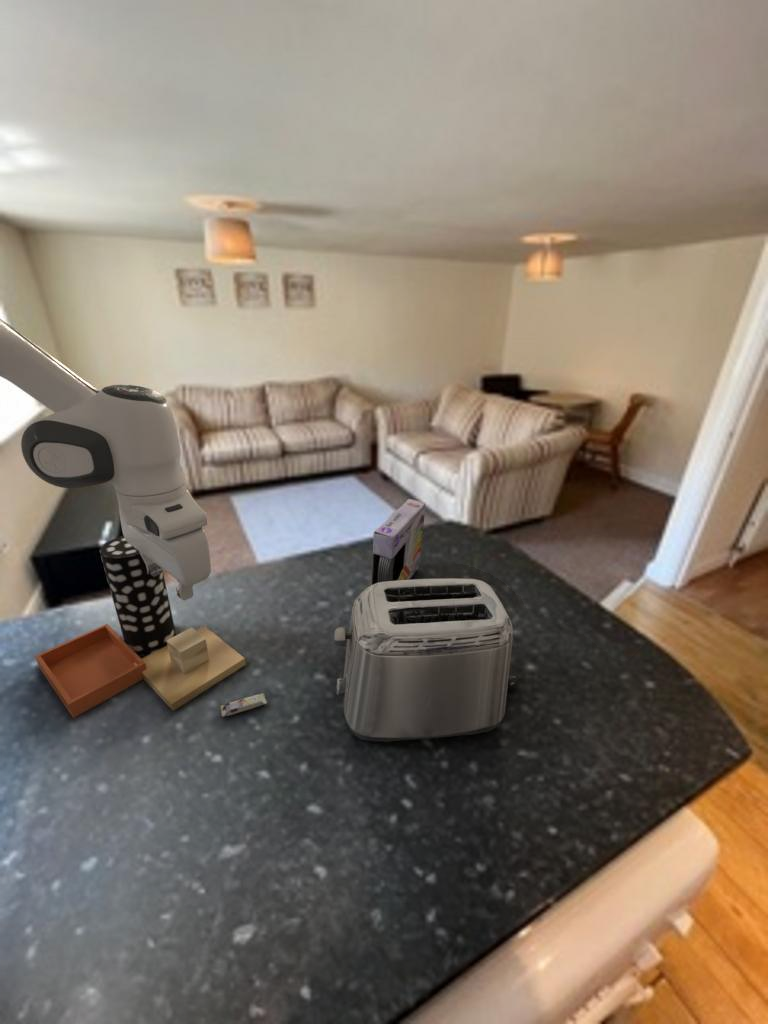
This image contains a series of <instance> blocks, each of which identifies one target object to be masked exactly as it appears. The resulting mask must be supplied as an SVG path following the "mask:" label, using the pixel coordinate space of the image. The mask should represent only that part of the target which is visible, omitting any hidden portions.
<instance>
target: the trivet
mask: <svg viewBox="0 0 768 1024" xmlns="http://www.w3.org/2000/svg"><path fill="white" fill-rule="evenodd" d="M195 630H196V631H197V632H198V633H199V634H200V635H202V636H203V637H204V638H205V639H206V643H207V649H208V655H209V660H208V661H206V662H204V663H202V664H201V665H199V666H197V667H196V668H194V669H192V670H191V671H189V672H187V673H185V674H184V673H183V672H182V671H181V670H180V669H179V668H178V667H177V666H176V665H175V664H174V663H173V662H172V661H171V659H170V654H169V650H168V645H167V646H165V647H163V648H161V649H159V650H157V651H156V652H154V653H152V654H150V655H145V656H144V657H142V658H141V659H142V660H143V661H144V662H145V663H146V667H147V669H146V670H145V671H143V672H142V676H143V679H142V680H144V681H145V683H147V685H148V686H149V687H150V688H151V689H152V690H153V691H154V692H155V693H156V694H157V696H158V697H159V698H160V699H161V700H162V701H164V703H165V704H166V705H167V707H169V708H170V709H171V711H173V712H174V711H176V710H177V709H179V708H181V707H182V706H183V705H185V704H187V703H188V702H190V701H191V700H193V699H194V698H196V697H198V696H199V695H201V694H202V693H204V692H206V691H207V690H208V689H210V688H211V687H213V686H215V685H216V684H218V683H219V682H221V681H223V680H224V679H226V678H228V677H229V676H230V675H232V674H234V673H235V672H237V671H238V670H240V669H242V668H243V667H245V666H246V664H247V663H246V658H245V657H244V656H243V655H242V654H241V653H239V652H238V651H236V649H234V648H233V647H231V646H230V645H229V644H228V643H226V642H225V641H224V640H223V639H221V638H220V637H219V636H218V635H217V634H215V633H214V632H213V631H211V630H210V629H209V628H208V627H206V626H205V625H203V626H201V627H200V628H198V629H195ZM133 664H134V667H135V666H136V665H137V664H136V663H133Z"/></svg>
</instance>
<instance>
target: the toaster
mask: <svg viewBox="0 0 768 1024" xmlns="http://www.w3.org/2000/svg"><path fill="white" fill-rule="evenodd" d="M353 602H354V603H353V605H352V609H351V615H350V622H349V629H348V632H347V629H346V626H339V627H336V629H335V631H334V638H333V641H334V644H335V645H336V646H337V647H345V646H346V651H345V660H344V668H343V669H344V670H343V677H337V679H336V687H335V688H336V689H335V692H336V693H335V694H336V695H337V696H342V697H343V713H344V718H345V721H346V723H347V725H348V728H349V730H350V732H351V733H352V734H353V735H354V736H355V737H356V738H358V739H360V740H362V741H366V742H375V743H377V742H378V743H390V742H391V743H392V742H396V741H409V740H411V741H412V740H413V741H414V740H427V739H441V738H450V737H457V736H473V735H478V734H482V733H489V732H491V731H492V730H495V729H496V728H497V727H498V726H499V725H500V724H501V723H502V721H503V719H504V717H505V714H506V705H507V698H508V697H507V696H508V691H511V687H512V686H514V685H516V682H515V681H512V679H516V678H517V676H515V675H513V676H512V675H511V676H510V669H511V668H510V667H511V659H512V650H513V649H512V648H513V640H514V630H513V624H512V621H511V618H510V617H509V615H508V612H507V610H506V608H505V607H504V605H503V603H502V602H501V600H500V598H499V597H498V595H497V593H496V592H495V591H494V589H493V588H492V587H491V585H489V584H488V583H487V582H485V581H483V580H481V579H475V578H417V579H410V580H398V581H387V582H380V583H376V584H374V585H372V584H371V585H369V586H368V587H366V588H365V589H364V590H362V591H361V592H360V593H359V594H358V595H357V597H356V598H355V600H354V601H353ZM346 641H347V643H346ZM511 681H512V682H511Z"/></svg>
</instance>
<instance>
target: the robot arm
mask: <svg viewBox="0 0 768 1024" xmlns="http://www.w3.org/2000/svg"><path fill="white" fill-rule="evenodd" d="M0 377H1V378H3V379H5V380H6V381H8V382H10V383H11V384H12V385H14V386H15V387H17V388H19V389H20V390H21V391H22V392H24V393H26V394H27V395H28V396H29V397H31V398H33V399H34V400H36V402H38V403H40V404H41V405H43V406H44V407H46V408H47V409H49V410H50V411H51V412H53V413H51V414H49V415H46V416H44V417H41V418H39V419H37V420H36V421H34V422H32V423H31V424H30V425H28V426H27V427H26V428H25V430H24V431H23V434H22V436H21V441H20V446H21V453H22V457H23V459H24V461H25V463H26V465H27V467H28V468H29V469H30V471H32V472H33V473H34V475H36V476H37V477H38V478H39V479H41V480H42V481H44V482H46V483H47V484H49V485H52V486H55V487H58V488H62V489H76V488H84V487H85V488H86V487H91V486H96V485H101V484H105V483H110V484H112V485H113V487H114V490H115V494H116V499H117V504H118V509H119V510H118V513H119V519H120V525H121V531H122V536H124V538H125V539H126V541H127V542H128V543H129V544H130V545H132V546H133V547H134V548H136V549H137V550H138V551H139V552H140V555H141V557H142V558H143V560H144V562H145V564H146V568H147V572H148V573H149V574H151V575H152V576H156V575H159V574H161V573H162V572H163V573H164V571H165V572H166V573H167V574H168V575H170V576H171V577H173V578H174V579H175V580H176V582H177V583H178V586H177V587H175V592H176V595H177V597H178V598H179V599H180V600H182V601H187V600H189V599H192V597H193V596H194V589H193V587H194V586H195V585H196V584H198V583H202V582H203V581H205V580H207V579H208V578H209V577H210V575H211V572H212V564H211V561H212V560H211V553H210V545H209V539H208V535H207V533H206V531H205V529H204V528H203V527H206V526H207V525H208V515H207V513H206V511H205V510H204V509H203V508H202V507H201V506H200V505H199V504H198V503H197V501H196V500H195V499H194V497H193V496H192V494H191V491H189V490H188V488H187V484H186V483H187V482H186V477H185V475H184V473H183V472H182V468H181V465H180V462H181V456H182V455H181V453H182V451H181V450H182V449H181V445H180V444H181V443H180V439H179V434H178V429H177V424H176V421H175V417H174V414H173V410H172V408H171V405H170V403H169V402H168V400H167V399H166V397H165V396H164V395H162V394H161V393H160V392H158V391H156V390H154V389H152V388H148V387H144V386H140V385H135V384H112V385H108V386H104V387H102V388H101V389H98V388H97V387H95V386H93V385H91V384H90V383H88V382H87V381H86V380H85V379H83V378H82V377H80V376H79V375H78V374H77V373H75V372H74V371H73V370H71V369H70V368H69V367H67V365H65V364H64V363H62V362H61V361H59V360H58V359H56V358H55V357H54V356H53V355H52V354H50V353H49V352H47V351H46V350H45V349H44V348H42V347H41V346H39V345H38V344H37V343H36V342H34V341H32V340H31V339H30V338H29V337H28V336H26V335H25V334H24V333H21V332H20V331H19V330H18V329H16V328H15V327H13V326H12V325H10V324H9V323H7V322H5V321H4V320H3V319H1V318H0Z"/></svg>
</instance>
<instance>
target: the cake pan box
mask: <svg viewBox="0 0 768 1024" xmlns="http://www.w3.org/2000/svg"><path fill="white" fill-rule="evenodd" d="M426 505H427V504H426V502H422V501H419V500H414V499H411V498H408V499H407V500H406V501H405V502H404V503H403V504H402V505H401V506H400V507H399V508H398V509H395V511H394V512H392V513H391V514H390V515H389V516H388V517H387V519H386V520H385V521H384V522H383V523H381V525H380V526H379V527H378V528H376V529H374V531H373V541H372V542H373V543H372V565H371V566H372V567H371V569H372V570H371V586H372V585H374V584H376V583H380V582H387V581H398V580H411V578H412V577H413V576H414V574H415V573H416V572H417V570H418V569H419V568H420V563H421V554H422V545H423V544H422V543H423V532H424V524H425V517H426V516H425V515H426V514H425V513H426ZM418 565H419V566H418ZM417 566H418V568H417ZM416 568H417V569H416ZM414 571H415V572H414ZM413 572H414V573H413Z"/></svg>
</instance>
